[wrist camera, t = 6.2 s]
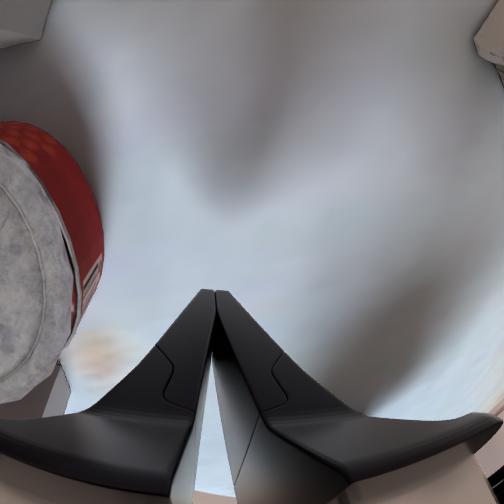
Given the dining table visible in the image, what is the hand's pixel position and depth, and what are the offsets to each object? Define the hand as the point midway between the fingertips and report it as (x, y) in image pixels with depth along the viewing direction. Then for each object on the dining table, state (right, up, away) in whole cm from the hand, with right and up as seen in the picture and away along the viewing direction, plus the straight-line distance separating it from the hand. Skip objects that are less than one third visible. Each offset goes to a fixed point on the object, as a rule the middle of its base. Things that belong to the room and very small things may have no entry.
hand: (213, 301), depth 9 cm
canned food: (-9, +3, +1) cm, 10 cm away
